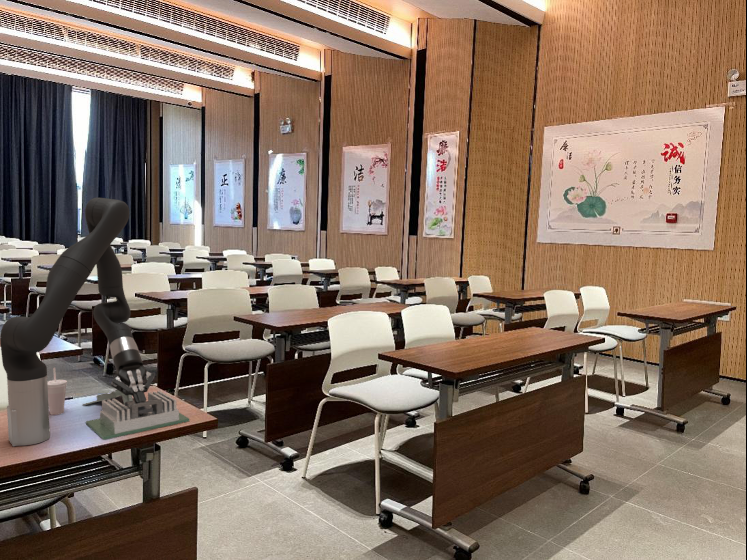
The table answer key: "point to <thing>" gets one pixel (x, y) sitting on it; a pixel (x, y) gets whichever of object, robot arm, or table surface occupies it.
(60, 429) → the table surface
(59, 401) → the smoothie
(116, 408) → the heatsink
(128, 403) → the dark gray rectangular plate
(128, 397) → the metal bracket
